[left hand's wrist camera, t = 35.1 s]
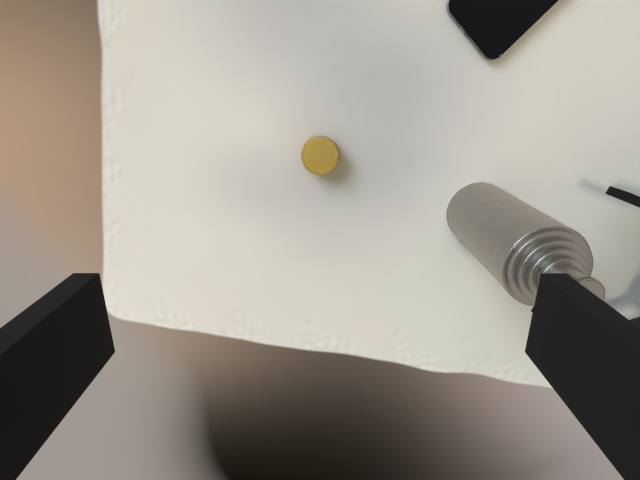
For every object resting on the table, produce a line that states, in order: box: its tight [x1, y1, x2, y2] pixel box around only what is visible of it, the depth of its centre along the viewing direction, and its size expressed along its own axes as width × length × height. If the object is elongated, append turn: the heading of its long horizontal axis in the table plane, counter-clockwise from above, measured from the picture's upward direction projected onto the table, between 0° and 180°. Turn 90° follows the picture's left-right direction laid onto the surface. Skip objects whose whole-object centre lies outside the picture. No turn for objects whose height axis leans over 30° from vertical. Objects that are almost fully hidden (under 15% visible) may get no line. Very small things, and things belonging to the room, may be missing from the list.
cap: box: [301, 135, 339, 175], centre depth 42 cm, size 4×4×2 cm
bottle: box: [447, 183, 605, 306], centre depth 36 cm, size 7×7×20 cm
